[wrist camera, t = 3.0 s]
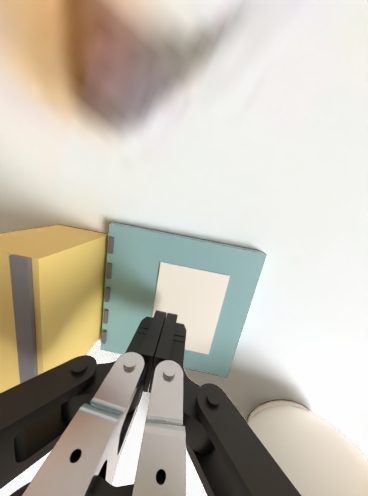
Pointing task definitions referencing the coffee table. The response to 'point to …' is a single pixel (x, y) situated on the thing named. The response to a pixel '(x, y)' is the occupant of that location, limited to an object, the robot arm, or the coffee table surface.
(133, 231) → the spiral notebook
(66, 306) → the yellow box with stripe
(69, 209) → the coffee table surface
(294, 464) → the lidded jar
